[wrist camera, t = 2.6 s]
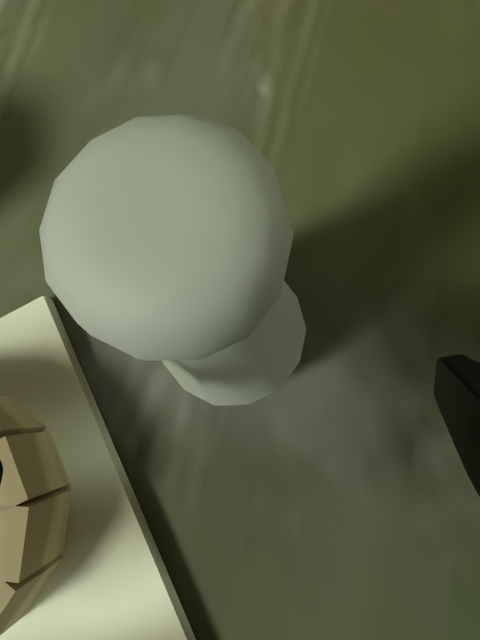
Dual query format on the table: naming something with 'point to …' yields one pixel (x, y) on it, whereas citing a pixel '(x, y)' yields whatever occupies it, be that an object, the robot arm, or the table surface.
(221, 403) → the salt shaker
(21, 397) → the socket
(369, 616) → the table surface
